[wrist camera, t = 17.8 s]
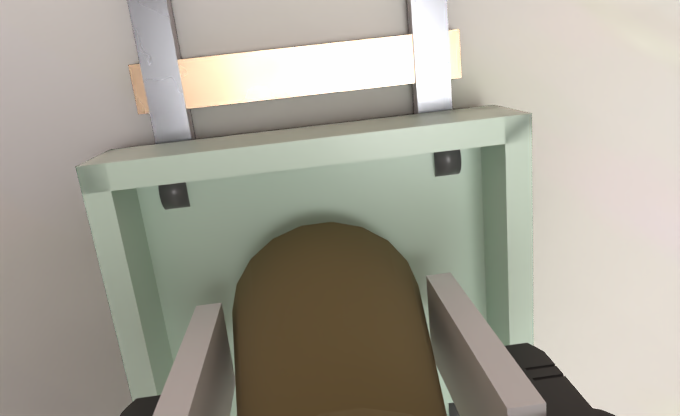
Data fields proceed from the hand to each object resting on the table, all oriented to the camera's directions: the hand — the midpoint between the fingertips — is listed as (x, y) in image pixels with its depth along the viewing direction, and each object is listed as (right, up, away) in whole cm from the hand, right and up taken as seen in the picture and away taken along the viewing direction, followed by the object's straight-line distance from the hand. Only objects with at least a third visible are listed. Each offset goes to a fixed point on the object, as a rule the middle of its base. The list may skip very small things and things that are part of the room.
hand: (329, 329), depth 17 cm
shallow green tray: (0, 0, +4) cm, 4 cm away
